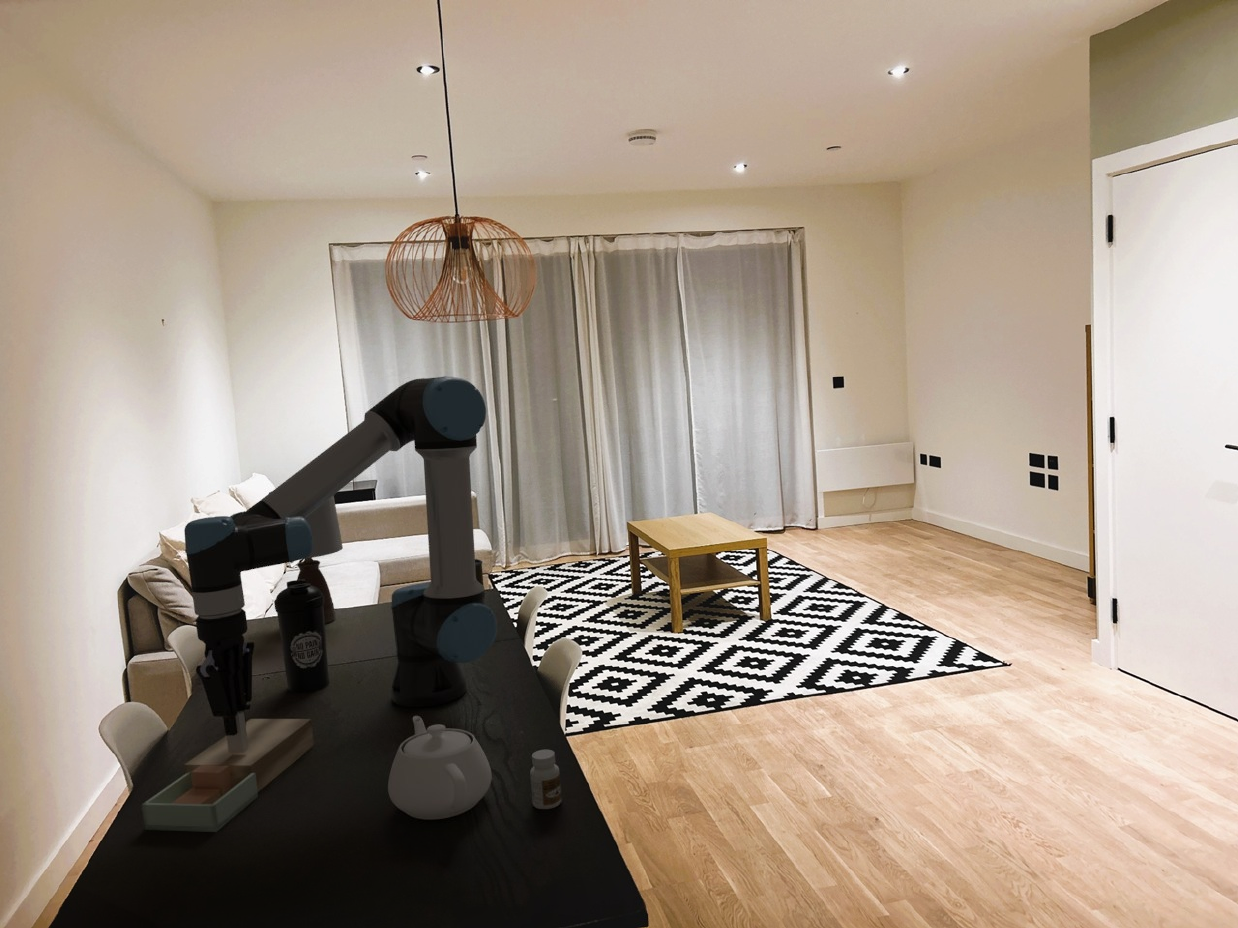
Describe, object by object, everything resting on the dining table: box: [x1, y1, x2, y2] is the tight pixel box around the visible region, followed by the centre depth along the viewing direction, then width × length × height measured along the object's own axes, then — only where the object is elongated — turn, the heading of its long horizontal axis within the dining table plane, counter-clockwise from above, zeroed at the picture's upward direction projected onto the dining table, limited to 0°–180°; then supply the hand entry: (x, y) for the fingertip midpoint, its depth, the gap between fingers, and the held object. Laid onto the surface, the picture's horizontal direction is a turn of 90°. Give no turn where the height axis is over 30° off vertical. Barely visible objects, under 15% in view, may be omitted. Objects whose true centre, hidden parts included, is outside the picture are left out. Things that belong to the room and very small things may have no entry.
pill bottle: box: [529, 749, 562, 810], centre depth 137 cm, size 4×4×8 cm
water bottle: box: [274, 579, 330, 694], centre depth 198 cm, size 10×10×23 cm
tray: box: [141, 772, 259, 833], centre depth 142 cm, size 12×11×4 cm
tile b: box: [172, 788, 221, 804], centre depth 141 cm, size 5×5×2 cm
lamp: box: [268, 491, 344, 625], centre depth 251 cm, size 19×19×37 cm
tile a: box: [191, 765, 232, 797], centre depth 145 cm, size 5×5×2 cm
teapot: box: [387, 715, 492, 821], centre depth 140 cm, size 25×16×12 cm, turn 27°
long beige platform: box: [183, 718, 315, 793], centre depth 157 cm, size 12×19×5 cm, turn 170°
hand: (238, 750), depth 151 cm, fingers closed
